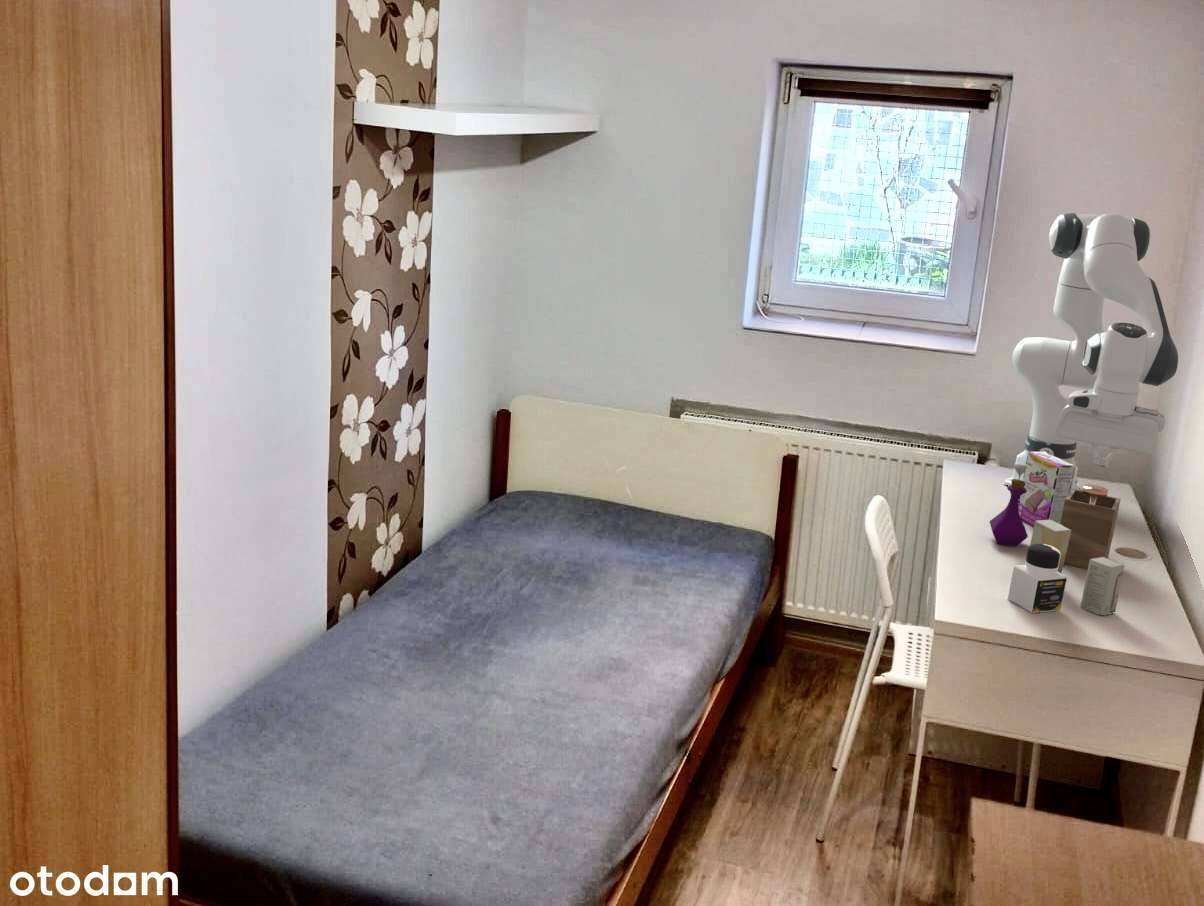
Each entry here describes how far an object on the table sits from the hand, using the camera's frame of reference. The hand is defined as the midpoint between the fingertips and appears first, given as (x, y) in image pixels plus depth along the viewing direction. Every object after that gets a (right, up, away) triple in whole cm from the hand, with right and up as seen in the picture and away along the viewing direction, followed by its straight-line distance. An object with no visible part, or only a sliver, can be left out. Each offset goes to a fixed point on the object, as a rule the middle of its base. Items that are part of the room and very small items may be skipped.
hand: (1100, 465), depth 264 cm
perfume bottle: (-16, -17, +13) cm, 27 cm away
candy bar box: (-4, -14, +27) cm, 31 cm away
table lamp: (-2, -18, +5) cm, 18 cm away
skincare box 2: (-9, -28, -21) cm, 36 cm away
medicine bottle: (-21, -27, -22) cm, 41 cm away
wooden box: (-2, -21, +6) cm, 21 cm away
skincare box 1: (-15, -24, -8) cm, 29 cm away
